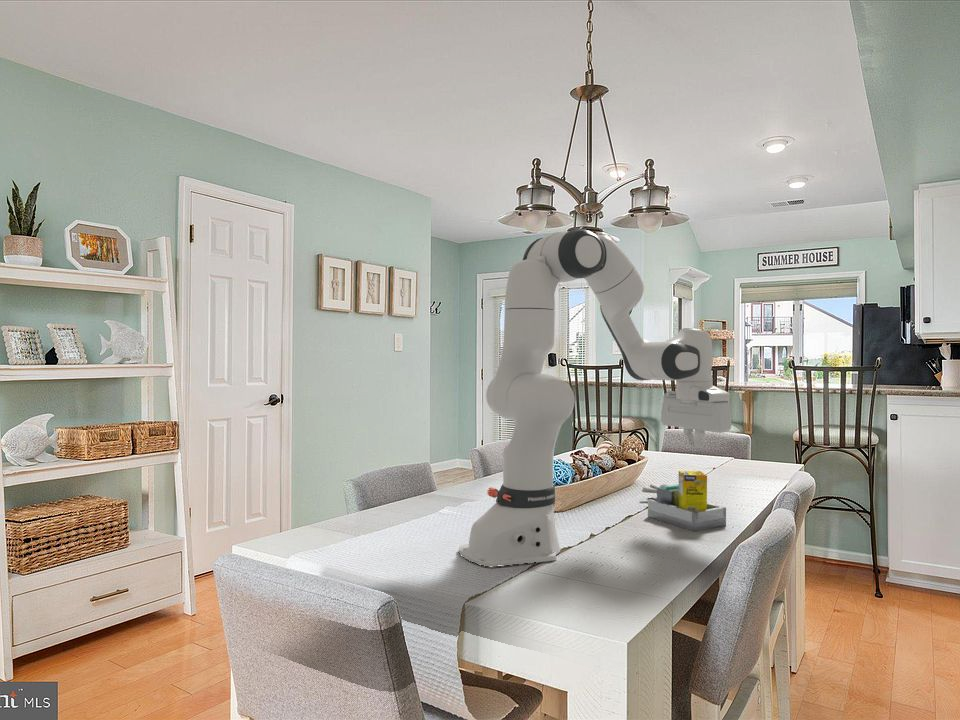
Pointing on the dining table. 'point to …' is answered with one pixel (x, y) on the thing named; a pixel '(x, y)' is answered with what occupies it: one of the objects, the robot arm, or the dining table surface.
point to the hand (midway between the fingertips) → (694, 446)
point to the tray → (684, 511)
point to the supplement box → (692, 490)
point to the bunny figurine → (654, 488)
